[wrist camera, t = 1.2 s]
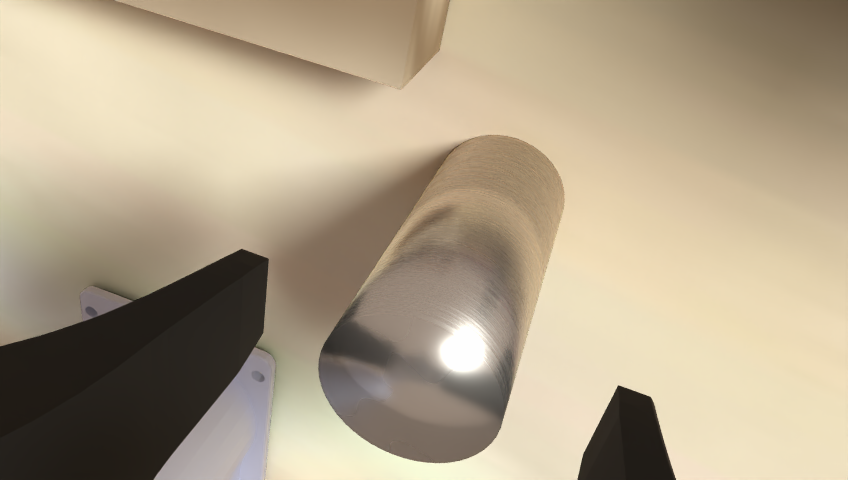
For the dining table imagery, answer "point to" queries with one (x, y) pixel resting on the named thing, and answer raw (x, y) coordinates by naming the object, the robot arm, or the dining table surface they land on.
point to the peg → (448, 306)
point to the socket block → (326, 30)
